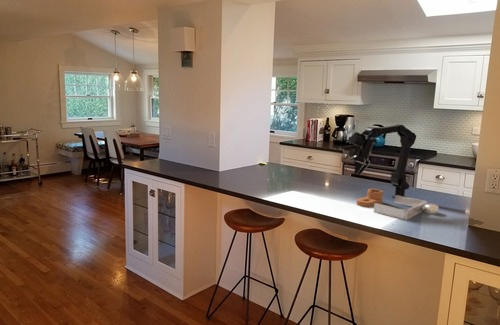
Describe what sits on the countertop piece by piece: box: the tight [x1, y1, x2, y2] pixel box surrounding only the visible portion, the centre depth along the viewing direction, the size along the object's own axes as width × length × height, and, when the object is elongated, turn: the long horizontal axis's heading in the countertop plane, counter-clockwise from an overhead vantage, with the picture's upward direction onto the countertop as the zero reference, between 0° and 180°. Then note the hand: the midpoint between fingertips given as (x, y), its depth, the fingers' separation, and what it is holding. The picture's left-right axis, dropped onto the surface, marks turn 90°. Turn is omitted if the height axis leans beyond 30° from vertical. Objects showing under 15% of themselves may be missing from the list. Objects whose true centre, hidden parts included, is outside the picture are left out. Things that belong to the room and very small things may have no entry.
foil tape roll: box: [423, 203, 439, 215], centre depth 197 cm, size 6×6×4 cm
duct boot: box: [373, 194, 428, 221], centre depth 199 cm, size 26×17×4 cm, turn 136°
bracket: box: [356, 188, 384, 208], centre depth 211 cm, size 18×8×7 cm, turn 129°
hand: (356, 174), depth 214 cm, fingers open, 9 cm apart
